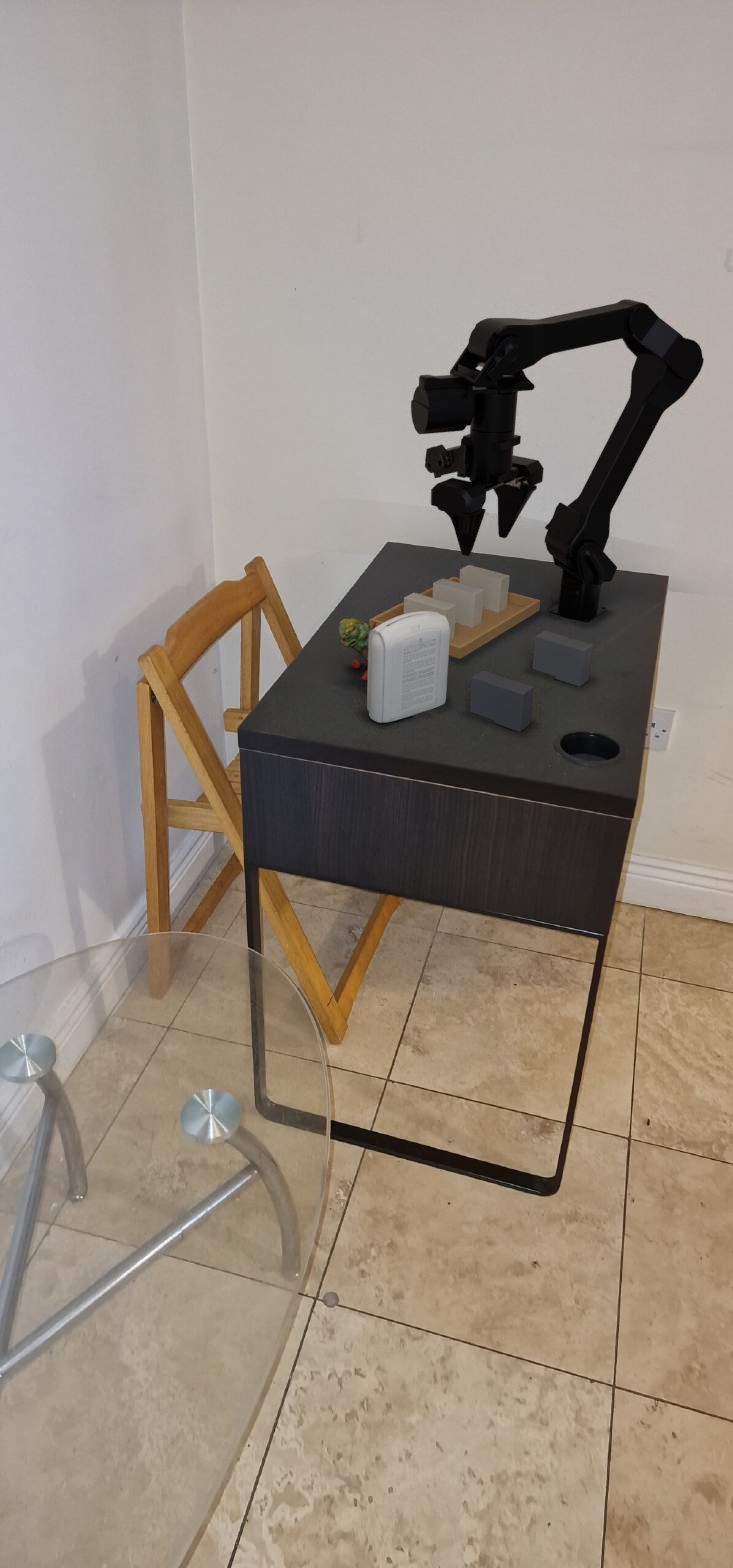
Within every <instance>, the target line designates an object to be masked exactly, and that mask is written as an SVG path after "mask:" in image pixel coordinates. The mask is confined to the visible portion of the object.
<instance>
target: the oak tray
mask: <svg viewBox="0 0 733 1568" xmlns="http://www.w3.org/2000/svg"><path fill="white" fill-rule="evenodd" d="M447 580H451V581H454V582H458V583H459V580H460V577H457V576H451V577H450V578H448V579H447ZM419 594H421V595H424V596H428V597H431V598H433V586H432V587H430V588H428V589H425V590H424V591H422V592H420V593H419ZM540 609H541V600H540V599H537V598H533V597H529V596H526V595H522V594H518V593H515V592H512V591H508V600H507V608H506V609H504V610H502V611H501V612H499V613H497V612H494V611H490V610H487V609H483V608H482V621H481V623H480V624H478V625H477V626H475V627H473V628H471V627H468V626H464V625H461V624H458V623H455V632H454V639H453V640H451V641H450V644H449V656H450V657H453V658H455V659H463V658H464V657H465V656H468V655H469V654H471V653H472V652H474V651H476V650H477V649H479V648H480V647H482V646H484V645H485V644H487V643H489V642H490V641H492V640H493V639H495V638H497V637H498V636H500V635H501V634H503V633H505V632H507V631H508V630H510V629H511V628H513V627H515V626H516V625H518V624H520V623H521V622H523V621H525V620H526V619H527V618H530V617H531V616H533V615H534V614H536V613H537V612H539V611H540ZM403 614H404V601H403V602H401V603H399V604H397V605H394V606H392V607H391V608H389V609H387V610H385V611H382V612H381V613H379V614H377V615H375V616H373V617H371V618H370V619H368V625H370V626H373V624H374V623H375V622H376V626H375V627H377V626H378V625H380V624H382V623H383V622H385V621H387V620H389V619H392V618H394V617H397V616H400V615H403Z"/></svg>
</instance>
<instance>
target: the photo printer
mask: <svg viewBox="0 0 733 1568" xmlns="http://www.w3.org/2000/svg"><path fill="white" fill-rule="evenodd" d="M449 644H450V627H449V623H448V620H447V618H446V617H445V616H444V615H441V614H440V613H437V612H432V611H418V612H411V613H407V614H403V615H400V616H397V617H394V618H392V619H389V620H387V621H385V622H383V623H382V624H380V625H378V626H377V627H375V628H374V629H373V630H372V631H371V632H370V635H369V644H368V666H367V670H368V680H367V684H368V686H367V685H366V686H367V689H366V690H367V691H366V693H367V695H366V696H367V697H366V707H367V708H366V709H367V712H368V716H369V718H370V719H371V720H372V721H374V722H376V723H380V724H383V723H385V724H386V723H390V722H396V721H398V720H402V719H405V718H409V717H412V716H415V715H417V714H420V713H423V712H426V711H429V710H432V709H433V710H434V709H435V708H438V707H441V706H443V705H445V704H446V701H447V689H448V672H449V659H450V657H449V656H450V655H449Z"/></svg>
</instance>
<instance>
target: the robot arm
mask: <svg viewBox="0 0 733 1568" xmlns="http://www.w3.org/2000/svg"><path fill="white" fill-rule="evenodd" d="M619 340H622V341H623V343H624V345H625V346H626V348H627V349H628V350H629V351H630V352H631V354H633V355H634V356H635V357H636V358H635V361H634V363H633V367H632V370H631V379H630V394H629V398H628V400H627V402H626V404H625V405H624V408H623V410H622V412H621V413H620V415H619V417H618V420H617V421H616V423H615V425H614V427H613V429H612V432H610V435H609V437H608V439H607V441H606V443H605V445H604V447H603V449H602V451H601V453H600V455H599V457H598V458H597V460H596V462H595V464H594V466H593V468H592V470H591V472H590V474H589V476H588V478H587V480H586V482H585V483H584V485H583V488H582V489H581V492H580V494H579V495H578V496H577V498H575V499H574V500H573V501H572V502H570V503H569V504H568V505H566V504H564V503H563V502H558V504H557V505H556V507H555V509H554V511H553V515H552V517H551V519H550V521H549V522H548V523H547V524H546V525H545V526H544V529H545V530H547V531H546V534H545V536H544V544H545V547H546V550H547V552H548V554H549V555H551V557H552V559H553V564H554V565H555V566H556V567H559V568H560V569H562V571H561V580H560V588H559V596H558V603H557V604H556V605H554V606H552V607H551V608H549V609H548V610H547V611H548V613H549V614H553V615H556V616H561V617H563V618H566V619H567V618H568V619H571V620H575V621H578V622H581V623H590V622H591V621H593V620H594V619H596V618H598V617H599V616H600V615H602V614H604V613H605V612H606V611H607V610H608V609H607V607H605V606H601V605H599V603H600V596H601V589H602V585H603V583H609V582H611V581H613V578H614V577H615V574H616V572H617V569H618V566H617V565H616V564H615V562H613V561H612V559H611V558H610V557H609V556H608V554H606V553H605V549H606V546H607V543H608V541H609V537H610V529H611V514H612V512H613V511H612V510H613V508H615V507H614V506H615V505H616V503H617V501H618V499H619V497H620V495H621V494H622V491H623V489H624V488H625V486H626V484H627V482H628V480H629V478H630V477H631V474H632V472H633V471H634V469H635V467H636V465H637V463H638V461H639V459H640V457H641V456H642V453H643V451H644V449H645V448H646V447H647V444H648V442H649V440H650V438H651V436H652V435H653V432H654V431H655V429H656V428H657V425H658V423H659V421H660V420H661V417H662V416H663V414H664V413H665V412H666V411H667V410H668V409H669V408H671V406H673V405H674V404H676V402H678V401H679V400H680V399H681V398H683V397H684V396H685V394H686V393H687V391H689V389H690V387H691V386H692V385H693V383H694V382H695V380H696V379H697V378H698V377H699V375H700V373H701V370H702V368H703V365H704V361H705V359H704V357H703V350H702V348H701V346H700V344H699V343H698V342H697V341H696V340H694V339H691V338H687V337H684V336H683V335H682V334H681V333H680V332H679V331H677V330H676V329H675V328H673V327H672V326H671V325H670V324H668V323H667V322H666V321H665V320H664V319H662V318H660V317H659V316H658V314H657V313H655V311H654V310H653V309H652V308H651V307H650V305H648V304H647V303H645V302H642V301H638V300H633V299H630V298H628V299H627V298H625V299H621V300H619V301H618V302H616V303H615V302H614V303H610V304H606V305H601V306H596V307H591V308H587V309H581V310H577V311H572V312H567V313H563V314H558V315H557V314H556V315H553V316H548V317H543V318H538V319H537V318H536V319H533V318H532V319H531V318H530V319H529V318H516V317H487V318H485V319H482V320H480V321H478V322H477V323H475V326H474V328H473V329H472V330H471V332H470V335H469V338H468V343H467V345H466V347H465V348H464V349H463V351H462V352H461V354H460V356H458V358H457V360H456V361H455V363H454V364H453V365H452V367H451V369H450V370H449V374H443V375H442V374H441V375H433V374H421V375H419V376H418V385H417V386H416V388H415V389H414V392H413V396H412V399H411V401H410V414H411V421H412V424H413V428H414V430H415V432H416V433H417V434H418V435H429V434H440V433H454V432H463V431H464V430H466V428H467V427H468V426H469V433H467V434H465V435H463V436H462V438H461V439H460V444H459V445H455V446H452V447H448V448H446V447H445V445H443V444H439V445H436V446H435V445H434V446H430V447H428V448H426V449H425V451H426V452H425V457H424V468H425V469H426V470H427V472H428V473H430V474H433V478H434V479H438V478H441V477H442V476H444V475H449V474H454V473H456V477H457V478H456V477H451V478H448V479H445V480H443V481H440V482H437V483H436V484H435V485H434V486H433V487H431V489H430V506H432V507H436V508H437V510H439V511H441V512H444V513H445V514H446V515H447V516H448V517H449V518H450V519H449V520H450V521H451V523H452V526H453V529H454V532H455V536H456V539H457V543H458V545H459V550H460V553H461V555H462V556H464V557H469V556H471V553H472V551H473V549H474V546H475V544H476V541H477V537H478V535H479V531H480V528H481V526H482V522H483V520H484V516H485V514H486V508H483V507H484V506H485V503H486V501H487V492H490V491H492V490H493V492H494V493H495V495H496V497H497V530H498V531H497V532H498V537H499V538H501V539H507V538H508V536H509V535H510V533H511V531H512V529H513V528H514V525H515V524H516V522H517V520H518V519H519V517H520V515H521V513H522V511H523V509H524V508H525V506H526V505H527V502H528V501H529V500H530V499H531V497H532V495H533V493H534V492H535V491H537V489H538V486H537V485H539V484H541V483H543V480H544V469H545V468H544V467H543V465H542V463H541V462H540V460H539V459H534V458H530V457H525V456H524V457H523V456H518V455H514V447H515V446H519V445H521V442H522V441H521V439H522V435H518V434H515V433H516V423H517V422H516V419H517V407H518V396H519V395H518V393H519V392H527V391H528V392H529V391H533V390H534V389H535V388H536V387H535V384H534V383H533V382H532V381H531V380H530V379H529V378H528V377H527V375H526V373H525V371H524V370H526V369H528V368H530V367H533V366H534V365H536V364H537V363H538V362H540V361H541V360H543V359H544V358H546V357H548V356H550V355H552V354H554V355H555V354H559V353H563V352H567V351H572V350H575V349H581V348H585V347H590V346H595V345H599V344H605V343H608V342H612V341H619ZM478 367H481V369H477V368H478ZM460 478H464V479H460ZM465 478H468V479H469V480H465Z"/></svg>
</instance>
